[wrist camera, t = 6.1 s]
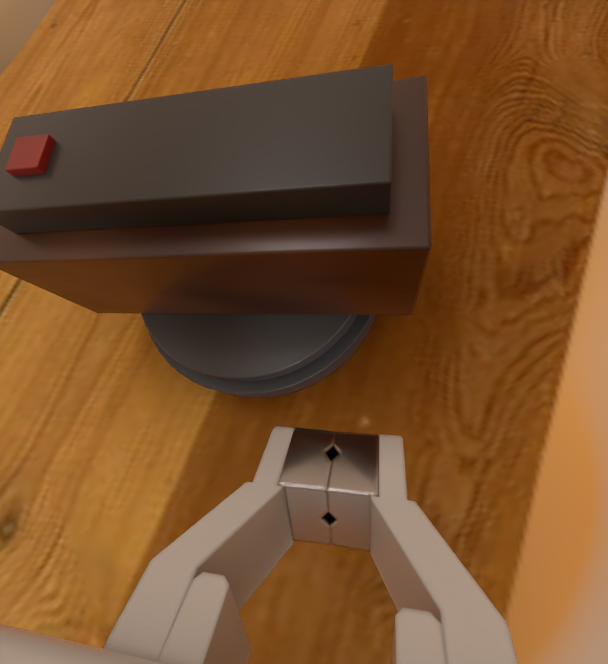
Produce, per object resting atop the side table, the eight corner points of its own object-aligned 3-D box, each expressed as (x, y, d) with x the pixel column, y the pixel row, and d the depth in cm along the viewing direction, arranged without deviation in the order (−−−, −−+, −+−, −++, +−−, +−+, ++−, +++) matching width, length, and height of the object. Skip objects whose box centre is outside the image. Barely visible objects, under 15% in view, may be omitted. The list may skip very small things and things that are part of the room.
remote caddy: (408, 156, 16) (432, -55, 9) (410, 390, 13) (447, 340, 6) (146, 179, 19) (15, 31, 12) (99, 374, 16) (-111, 328, 9)
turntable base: (382, 406, 15) (383, 402, 13) (138, 391, 17) (117, 386, 16) (385, 173, 18) (386, 151, 17) (179, 189, 21) (165, 171, 19)
